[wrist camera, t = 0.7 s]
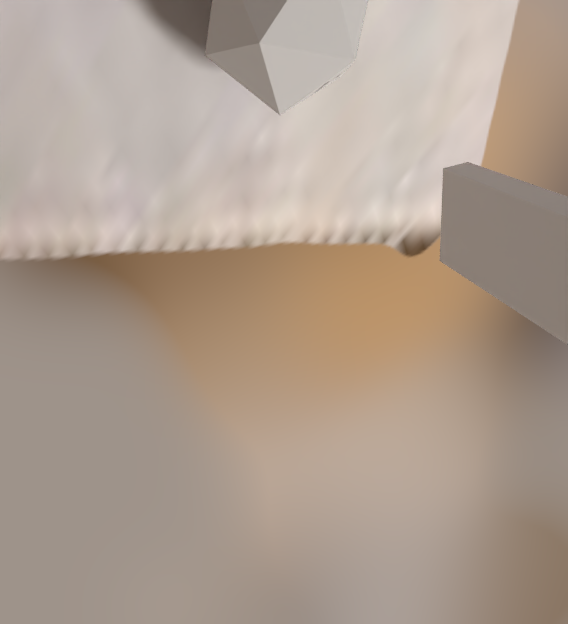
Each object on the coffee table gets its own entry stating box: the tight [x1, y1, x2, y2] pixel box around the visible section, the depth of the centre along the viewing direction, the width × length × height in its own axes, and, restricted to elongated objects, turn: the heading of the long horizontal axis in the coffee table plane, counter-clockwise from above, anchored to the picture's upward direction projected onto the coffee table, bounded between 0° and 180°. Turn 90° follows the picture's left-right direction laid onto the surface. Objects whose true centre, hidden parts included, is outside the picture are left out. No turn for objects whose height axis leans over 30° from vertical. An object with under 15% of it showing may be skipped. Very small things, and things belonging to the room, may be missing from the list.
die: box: [205, 0, 368, 115], centre depth 27 cm, size 8×9×10 cm
